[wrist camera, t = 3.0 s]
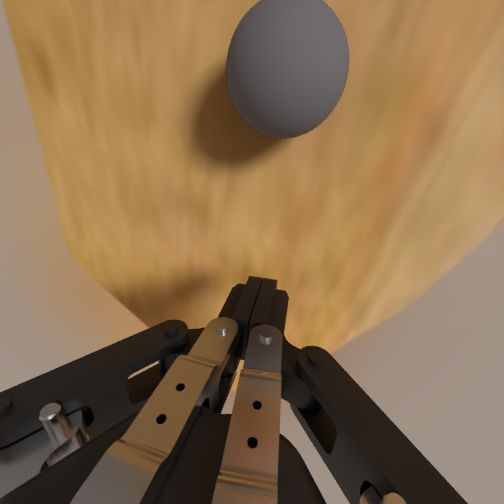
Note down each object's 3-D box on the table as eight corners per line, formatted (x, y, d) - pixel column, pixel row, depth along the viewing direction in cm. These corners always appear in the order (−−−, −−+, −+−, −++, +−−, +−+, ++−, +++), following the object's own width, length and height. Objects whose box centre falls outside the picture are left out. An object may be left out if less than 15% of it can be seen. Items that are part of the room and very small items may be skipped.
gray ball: (233, 34, 14) (191, -9, 9) (340, 1, 13) (356, -69, 8) (251, 142, 17) (225, 153, 12) (345, 125, 15) (358, 129, 10)
